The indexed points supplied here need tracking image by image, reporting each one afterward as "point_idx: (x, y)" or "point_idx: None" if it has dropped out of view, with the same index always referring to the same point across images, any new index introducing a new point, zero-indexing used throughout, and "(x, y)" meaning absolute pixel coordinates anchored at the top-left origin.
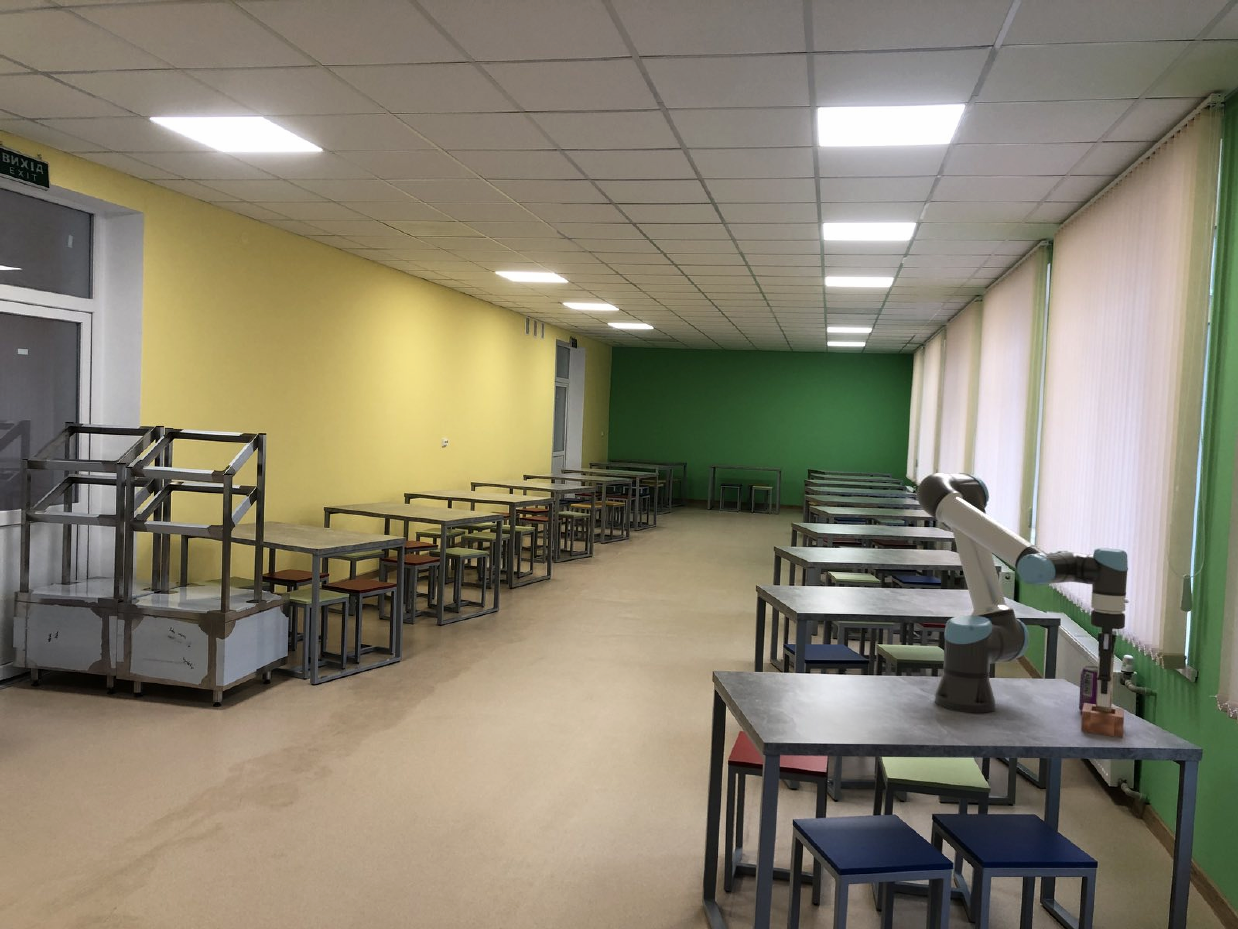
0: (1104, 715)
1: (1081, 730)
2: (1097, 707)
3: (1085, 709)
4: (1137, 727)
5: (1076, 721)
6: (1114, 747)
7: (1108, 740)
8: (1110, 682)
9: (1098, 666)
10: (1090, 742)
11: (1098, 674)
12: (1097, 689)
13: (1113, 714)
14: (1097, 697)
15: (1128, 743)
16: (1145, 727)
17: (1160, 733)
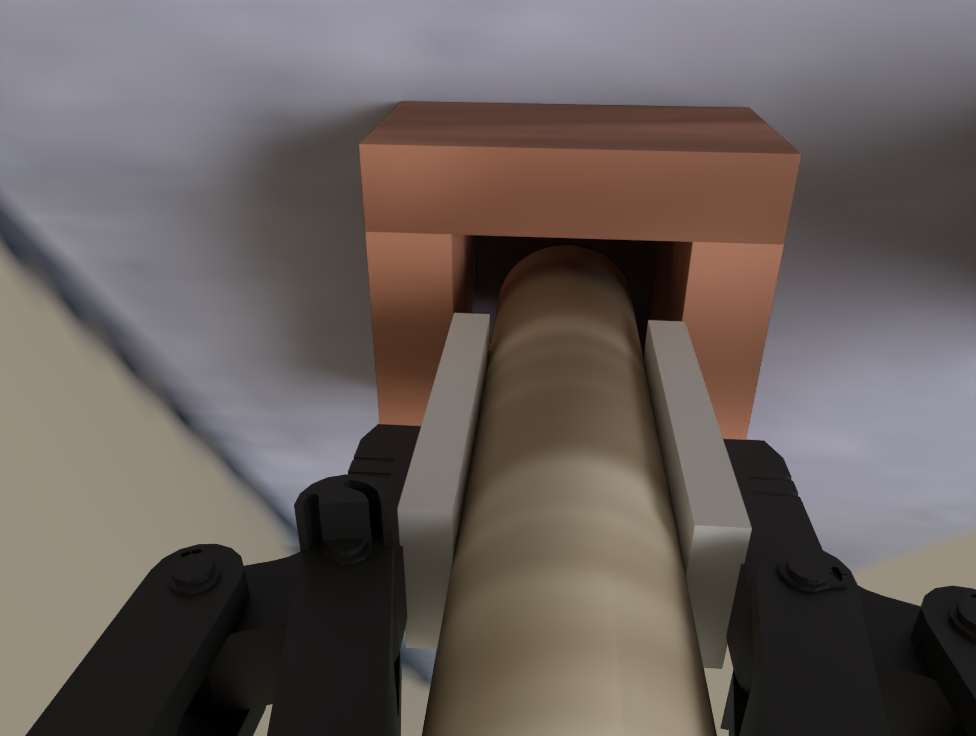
0: (377, 348)
1: (401, 104)
2: (519, 303)
3: (458, 176)
4: (805, 492)
5: (752, 41)
6: (121, 340)
7: (276, 306)
8: (410, 633)
9: (509, 688)
10: (107, 184)
11: (499, 561)
12: (528, 400)
13: None
14: (519, 351)
15: (302, 423)
16: (835, 536)
17: None
